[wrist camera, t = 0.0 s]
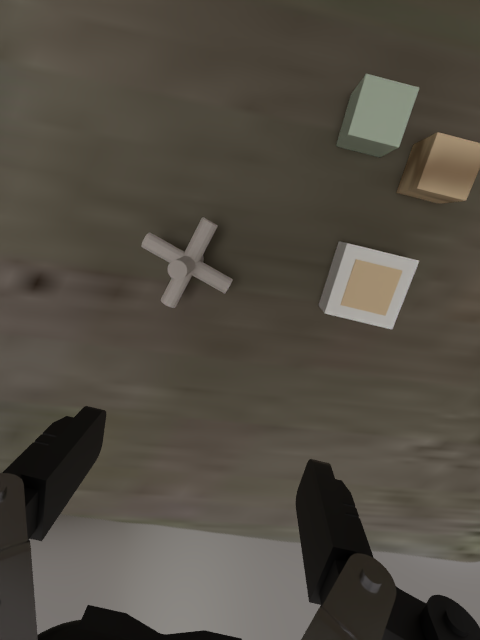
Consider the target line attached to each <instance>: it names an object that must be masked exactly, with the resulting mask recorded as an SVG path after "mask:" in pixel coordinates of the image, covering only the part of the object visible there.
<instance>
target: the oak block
mask: <svg viewBox="0 0 480 640" xmlns="http://www.w3.org/2000/svg"><path fill="white" fill-rule="evenodd" d="M479 168H480V143H477V142H473V141H469V140H466V139H462V138H458V137H454V136H450V135H446V134H442V133H439V132H437V133H435V134H433V135H431V136H429V137H427V138H425V139H423V140H421V141H419V142H417V143H415V144H413V147H412V150H411V153H410V155H409V158H408V161H407V164H406V167H405V169H404V172H403V175H402V178H401V181H400V183H399V186H398V189H397V192H396V193H399V194H402V195H406V196H410V197H414V198H418V199H422V200H426V201H430V202H434V203H438V204H441V203H451V202H460V201H466V199H467V197H468V195H469V192H470V190H471V188H472V185H473V183H474V180H475V178H476V176H477V173H478V171H479Z"/></svg>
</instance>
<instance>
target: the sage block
mask: <svg viewBox="0 0 480 640" xmlns="http://www.w3.org/2000/svg"><path fill="white" fill-rule="evenodd" d="M418 91H419V87H415V86H411V85H408V84H404V83H400V82H396V81H392V80H388V79H385V78H381V77H377V76H373V75H369V74H366V75H365V76H364V77H363V79H362V80H361V81H360V83H359V84H358V86H357V87H356V88H355V90H354V91H353V92H352V94H351V96H350V99H349V103H348V106H347V110H346V113H345V116H344V120H343V123H342V127H341V130H340V134H339V137H338V140H337V144H336V146H337V147H341V148H344V149H348V150H352V151H356V152H360V153H364V154H368V155H372V156H376V157H382V156H384V155H386V154H388V153H389V152H391V151H393V150H395V149H397V148H399V146H400V143H401V140H402V137H403V134H404V131H405V128H406V125H407V122H408V120H409V117H410V114H411V111H412V108H413V105H414V102H415V99H416V96H417V93H418Z"/></svg>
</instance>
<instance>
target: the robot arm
mask: <svg viewBox="0 0 480 640" xmlns="http://www.w3.org/2000/svg"><path fill="white" fill-rule="evenodd" d="M105 420H106V411H105V410H101V409H97V408H92V407H88V406H85V407H84V408H83V409H82V410H81V411H80V412H79V413H78V414H77V415H76V416H75V417H74V418H73V417H68V416H66V417H64V418H62V419H60V420H58V421H56V422H54V423H52V424H51V425H50V426H49V427H48V428H47V429H46V430H45V431H44V432H43V434H42V435H40V436H39V437H38V438H37V439H36V440H35V442H34V443H32V444H31V445H30V446H29V447H28V448H27V449H26V450H25V451H24V452H23V453H22V454H21V455H20V456H19V457H18V458H17V459H16V460H15V461H14V462H13V463H12V464H11V465H10V466H9V467H8V468H7V469H6V470H5V471H4V472H3V473H0V640H242V639H241V638H236V637H232V636H227V635H222V634H218V633H213V632H209V631H195V632H186V633H176V634H168V635H164V634H160V633H158V632H156V631H155V630H153V629H151V628H150V627H148V626H146V625H145V624H143V623H141V622H140V621H138V620H136V619H134V618H133V617H131V616H129V615H128V614H126V613H122V612H117V611H113V610H109V609H104V608H99V607H94V606H90V605H88V606H87V608H86V610H85V613H84V615H83V617H82V619H81V620H76V621H71V622H67V623H63V624H60V625H58V626H55V627H52V628H50V629H48V630H46V631H44V632H42V633H40V634H39V635H37V624H36V611H35V598H34V585H33V572H32V559H31V548H30V547H31V546H30V541H29V539H35V540H39V541H42V540H43V538H44V537H45V536H46V534H47V533H48V531H49V530H50V528H51V526H52V525H53V524H54V522H55V521H56V519H57V518H58V516H59V515H60V513H61V512H62V510H63V509H64V507H65V506H66V504H67V503H68V501H69V500H70V498H71V497H72V495H73V494H74V492H75V491H76V490H77V488H78V487H79V485H80V484H81V482H82V481H83V479H84V478H85V476H86V475H87V473H88V472H89V470H90V469H91V467H92V466H93V464H94V463H95V461H96V460H97V458H98V456H99V453H100V451H101V447H102V443H103V435H104V428H105ZM296 512H297V519H298V526H299V533H300V540H301V547H302V554H303V562H304V569H305V575H306V583H307V589H308V597H309V602H311V603H315V604H320V605H321V606H320V608H319V609H318V611H317V613H316V614H315V616H314V618H313V620H312V622H311V623H310V625H309V627H308V629H307V630H306V632H305V634H304V636H303V638H302V639H301V640H480V628H479V626H478V624H477V623H476V621H475V620H474V619H473V618H472V617H471V615H470V614H469V613H468V612H467V611H466V610H465V609H464V608H463V607H461V606H460V605H459V604H458V603H456V602H455V601H453V600H452V599H449V598H448V597H445V596H442V595H434V596H431V597H430V598H429V600H428V602H427V603H424V602H422V601H420V600H419V599H417V598H415V597H413V596H411V595H409V594H408V593H406V592H404V591H402V590H400V589H399V588H397V587H396V586H395V583H394V581H393V578H392V577H391V575H390V573H389V572H388V571H387V569H386V568H385V567H384V566H383V565H382V564H381V563H380V562H378V561H377V560H376V559H374V558H373V555H372V552H371V549H370V546H369V543H368V540H367V538H366V535H365V532H364V529H363V526H362V523H361V521H360V519H359V515H358V512H357V509H356V508H355V503H354V501H353V498H352V495H351V492H350V491H349V490H348V488H347V487H346V486H345V484H344V483H343V482H342V481H341V480H337V479H335V477H334V474H333V471H332V468H331V465H330V464H329V463H325V462H321V461H317V460H313V459H310V460H309V461H308V463H307V465H306V468H305V471H304V474H303V476H302V479H301V482H300V485H299V487H298V491H297V495H296Z"/></svg>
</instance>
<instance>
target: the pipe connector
mask: <svg viewBox="0 0 480 640" xmlns="http://www.w3.org/2000/svg"><path fill="white" fill-rule="evenodd" d="M217 227H218V225H216V224H215V223H213V222H211V221H210V220H208V219H206V218H204V217H202V219H201V221H200V223H199V225H198V227H197V229H196V231H195V233H194V235H193V237H192V239H191V241H190V243H189V244H188V246H187V248H186V250H185V252H184V251H182V250H180V249H179V248H177V247H175V246H173V245H171V244H170V243H168V242H166V241H164V240H163V239H161V238H159V237H157V236H156V235H154V234H152V233H150V232H149V233H148V234H147V235H146V236H145V238H144V240H143V243H142V247H143V248H144V249H146V250H148V251H150V252H151V253H153V254H155V255H157V256H159V257H160V258H162V259H164V260H166V261H167V262H169V263H170V264H169V265H168V273H169V275H170V277H172V278H171V280H170V282H169V284H168V286H167V288H166V290H165V292H164V294H163V296H162V298H161V302H162V303H163V304H165V305H167V306H169V307H172V308H175V307H176V306H177V304H178V302H179V300H180V298H181V296H182V294H183V292H184V290H185V288H186V286H187V284H188V283H189V281H190V279H191V277H192V276H194V277H196V278H198V279H200V280H201V281H203V282H205V283H207V284H208V285H210V286H212V287H214V288H216V289H217V290H219V291H221V292H223V293H226V291H227V290H228V288H229V286H230V284H231V282H232V281H233V279H231V278H230V277H228V276H226V275H224V274H223V273H221V272H219V271H217V270H216V269H214V268H212V267H210V266H208V265H207V264H205V263H203V261H204V257H203V254H204V252H205V250H206V248H207V246H208V244H209V242H210V240H211V238H212V236H213V235H214V233H215V231H216V229H217Z"/></svg>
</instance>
